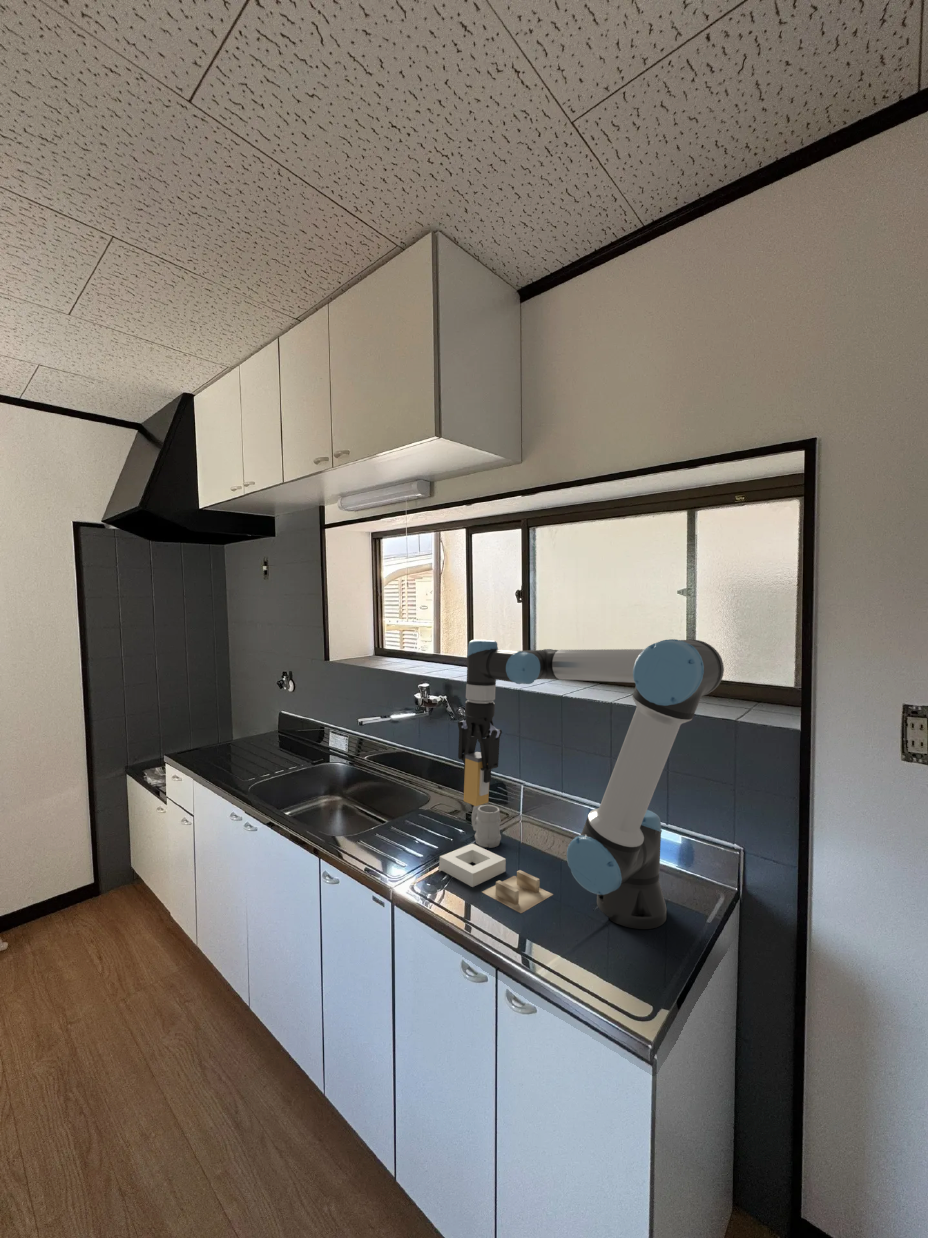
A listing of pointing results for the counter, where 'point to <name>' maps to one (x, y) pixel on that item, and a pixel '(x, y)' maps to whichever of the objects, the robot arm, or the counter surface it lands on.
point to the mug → (486, 825)
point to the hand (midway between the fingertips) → (476, 791)
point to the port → (471, 875)
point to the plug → (473, 780)
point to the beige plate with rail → (518, 892)
